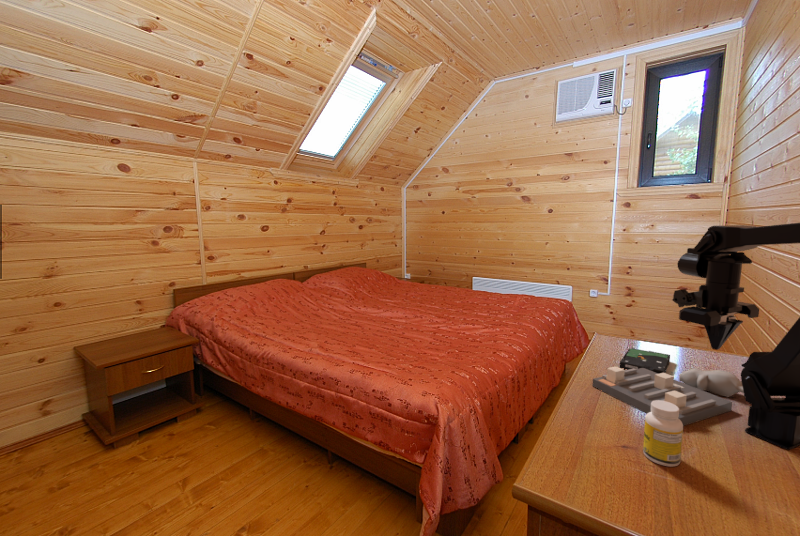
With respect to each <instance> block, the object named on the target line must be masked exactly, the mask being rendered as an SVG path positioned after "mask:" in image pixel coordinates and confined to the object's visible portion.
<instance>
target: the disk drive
mask: <svg viewBox="0 0 800 536" xmlns="http://www.w3.org/2000/svg"><path fill="white" fill-rule="evenodd" d="M670 359H671V354H667V353H662V352H657V351H651V350H643V349H639V348H638V349H637V348H635V347H631V348H629V349H628V350H627V351H626V352H625V353H624V355H623V356H622V358H621V359H620V361H619V368H624V369H627V370H629V369H633V368H634V369H639V368H645V369H648V370H650V371H653V372H656V373H658V374H660V373H666V372H667V370H668V367H669V366H670V361H671V360H670Z"/></svg>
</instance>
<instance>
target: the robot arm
mask: <svg viewBox="0 0 800 536" xmlns="http://www.w3.org/2000/svg"><path fill="white" fill-rule="evenodd" d="M792 244H793V245H797V244H800V222H795V223H793V222H792V223H783V224H773V225H764V226H763V225H762V226H755V225H745V224H744V225H740V224H738V225H727V224H726V225H712V226H709V227H708V228H707V231H706V232H705V233H704V234H703V236H702V237H701V239H700V240H699V241H698V243H697V244H696V245H695V246H694V247H687V249H686V253H684V254H683V255H682V256H680V258H679V260H678V261H677V268H678V270H679V272H680V273H682V274H684V275H686V276H692V277H696V278H701V279H705V283H704V284H700V286H699V287H698V291H690V292H689V291H688V290H687V289H685V288H684V289H683V288H681V289H678V290H673V291H674V292H673V296H672V299H671V301H672V302H674V303H675V304H677V305H678V308H682V309H680V310H679V311H678V320H680V321H683V322H688V323H691V324H692V323H693V324H697V325H701V326H703V327H704V328H705V331H706V333H707V337H708V341H709V344H710V348H711V349H713V350H716V351H717V350H720V349H721V348H722V347H723V345H725V342H726V341H727V340H728V339H729V338H730V336H731V335H733V333H734V332H735V330H736V329H737V328H738V327H739V326H740V325H741V324H743V322H744V321H743V320H741V319H736V318H737V316H736V315H737V314H739V315H745V316H747V317H748V318H750V319H753V318H759V315H760V308H759V307H758V306H757V305H756V304H755V303H750V302H749V303H748V302H743V301H739V294H740V293H744V292H745V287H743V286H741V277H742V268H743V265H745V264H746V265H748V264H749V265H751V264H752V263H753V260H752V259H751V258H750V257H748V256H747V255H746V254H745V252H744V251H750V250H754V249H756V248H758V247H761V246H769V245H771V246H776V245H792ZM741 367H743V368H742V370H741V372H740V379H741V380H740V381H742V386H743V391H744V393H743V396H744V400H745V402H747V403H748V404H750V406H749V409H748V417H747V426H748V427H746V428H745V429H744V432H746V433H747V434H750V435H752V436H754V437H757V438H760V439H762V440H764V441H766V442H769V443H771V444H773V445H775V446H777V447H780V448H783V449H784V450H788V451H789V450H792V449H795V448H796V447H799V446H800V316H799V317H798V319H796V321H795V322H794V323H793V325H792V326H791V327H790V328H789V330H788V331H787V333H785V335H784V336H783V337H782V338H781V340H780V341H779V342H778V343H777V345H776V346H775V347H774V349H773V350H771V351H753V352H752V353H750V355H749V356H748V358H747V360H746V361H745V362H744V363H742V364H741Z"/></svg>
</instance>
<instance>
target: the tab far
mask: <svg viewBox="0 0 800 536" xmlns="http://www.w3.org/2000/svg"><path fill="white" fill-rule="evenodd" d="M624 373H625V370H624V369H621V368H620V366H617V365H616V366H612V367H611V366H609V367H607V368H606V374H607V377H606V380H608V381H610V382H613V383H615V384H616V381H620V380H624Z"/></svg>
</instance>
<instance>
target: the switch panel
mask: <svg viewBox="0 0 800 536" xmlns="http://www.w3.org/2000/svg"><path fill="white" fill-rule="evenodd" d="M655 374H658V373H656V372H653V371H650V370H648V369H645V368H639V369H634V368H633V369H629V370H625V373H624V380H620V381H616V384H615V383H613V382H610V381H608V380H606V377H607V373H606V374H602V376H599V377H595V378H592V387H593V386H594V387H593V388H595V387H596V388H595V389H597V388H598V389H597V390H599V389H600V390H599V391H601V390H602V391H601V392H603V393H605V394H607V395H609V396H611V397H613V398H615V399H617V400H619V401H621V402H623V403H625V404H627V405H629V406H632V407H634V408H635V409H637V410H639V411H641V412H643V413H645V414H647V413H649V412H651V402H652V401H655V400H661V401H665V393H667V392H670V391H674V390H675V391H677V392H680V393H682V394H685V395H687V398H686V407H683V408H680V409H679V417H678V419H680V420H681V422H682V424H683V427H684V426H687V425H690V424H693V423H697V422H700V421H702V420H706V419H709V418H713V417H715V416H719V415H722V414H725V413H728V412H731V411H732V410H733V401H731V400H729V399H727V398H724V397H720V396H719V395H717V394H713V393H711V392H709V391H708V392H707V391H706V390H700V389H697V388H695V387H692V386H689V385H687V384H685V383H684V382H682V381H680V380H676V379H674V383H673V387H670V388H667V389H663V390H661V389H658V388H656V387H654V380H655Z"/></svg>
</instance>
